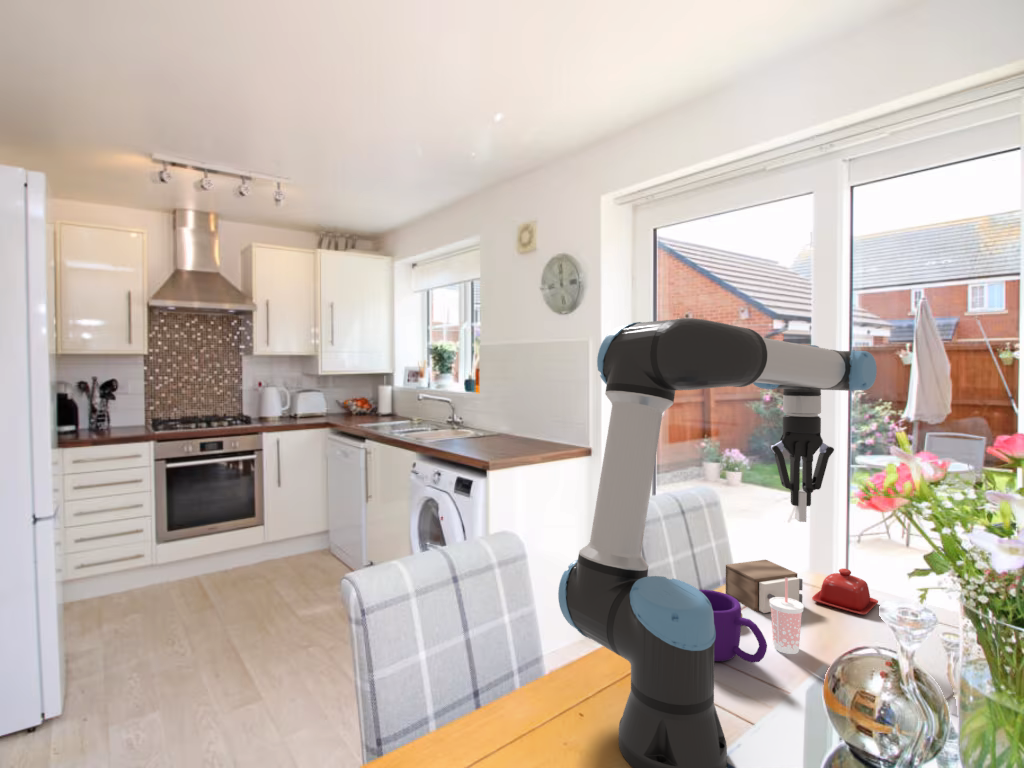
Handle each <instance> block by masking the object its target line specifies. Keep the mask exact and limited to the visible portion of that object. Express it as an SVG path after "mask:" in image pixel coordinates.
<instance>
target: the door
mask: <svg viewBox="0 0 1024 768" xmlns="http://www.w3.org/2000/svg"><path fill="white" fill-rule="evenodd" d="M800 591H803V579H802V578H800V577H797V578H796V577H788V598H791V599H794V600H797V601H799V602H801V603H802V604H803V594H801V593H800ZM773 597H785V578H782V579H775V580H769V581H763V582H759V611H758V612H761V613H763V614H766V613H767V614H768V613H771V606H770V603H769V600H770V599H771V598H773Z"/></svg>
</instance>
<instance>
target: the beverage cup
mask: <svg viewBox="0 0 1024 768" xmlns="http://www.w3.org/2000/svg"><path fill="white" fill-rule="evenodd" d="M769 603H770V606H771V612H770V615H771V633H772V646H773V648H774V650H776V651H778V652H780V653H784V654H788V655H795V654H798V653H799V652H800V643H801V642H800V641H801V640H800V639H801V627H802V626H801V625H802V615H803V613H804V604H803V602H802V603H801V602H799V601H797V600H794V599H791V598H788V578H787V577H785V597H773V598H771V599H770V600H769Z"/></svg>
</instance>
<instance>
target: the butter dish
mask: <svg viewBox="0 0 1024 768" xmlns="http://www.w3.org/2000/svg"><path fill="white" fill-rule="evenodd" d="M851 574H852V571H851V570H850V569H848V568H840V569H839V570H838V572H835V573H834V572H833V573H830V574H829V575H827V576H826V577H825V578H824V579H823V581H822V585H821V587H820V588H821V589H820V590H819V591H817V592H816V593H815V594H814V595H813V596H812V597H811V598H812V599H811V600H812V601H814V602H815V603H819V604H822V605H826V606H829V607H832V608H836V609H839V610H843V611H847V612H851V613H854V614H859V615H863V616H864V615H867V614H868V613H870V612H871V610H872V609H873V608H874V607H875V606H877V605H878V603H879V600H877V599H876V598H873V597H871V594H870V590H869V589H870V588H869V585H868V582H866V580H864V579H862V578H860V577H857V576H854V575H851Z"/></svg>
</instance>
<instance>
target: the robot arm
mask: <svg viewBox="0 0 1024 768" xmlns="http://www.w3.org/2000/svg"><path fill="white" fill-rule="evenodd" d="M596 358H597V359H596V363H597V365H596V367H597V371H598V372H600V375H599V376H600V378H601V380H602V382H604V384H605V385H606V387H605V393H604V394H605V396H606V398H608V400H609V401H610V403H611V411H610V415H609V416H610V417H609V423H608V427H607V428H608V429H607V434H606V435H607V436H606V441H605V447H604V453H603V459H602V466H601V473H600V476H599V477H600V478H599V484H598V490H597V496H596V501H595V509H594V515H593V521H592V526H591V527H592V528H591V534H590V539H589V542H588V544H586V545H585V546H584V547H582V548H581V549H579V551H578V555H577V556H578V557H577V559H576V560H574V561H572V562H571V563H570V564H569V565H568V567H567V568H568V569H567V570H564V572H563V573H562V575H561V578H560V581H559V585H558V593H557V594H558V595H557V596H558V606H559V609H560V611H561V614H562V616H563V618H564V619H565V620H566V622H567V623H568V624H569V626H571V627H573V628H574V629H575V630H577V631H578V633H580V634H581V636H583V637H585V638H588V639H590V640H593V641H594V642H596V643H598V644H599V645H601V646H603V647H604V648H606V649H608V650H609V651H611V652H612V653H614V654H616V655H618V656H620V657H622V658H623V659H624V660H626V661H628V662H629V663H630V692H629V694H628V697H627V700H626V703H625V706H624V709H623V712H622V713H623V714H622V716H621V718H620V720H619V726H618V747H619V750H620V753H621V755H622V756H623V758H624V760H626V762H627V763H628V764H629V765H630V766H631V767H632V768H727V763H728V744H727V740H726V737H725V734H724V731H723V727H722V725H721V721H720V719H719V714H718V712H717V709H716V705H715V661H714V645H715V637H716V631H715V625H714V614H713V609H712V605H711V603H710V601H709V600H708V598H707V597H706V596H705V595H704V594H703V593H702V592H701V591H700V590H701V589H698V588H697V587H696V586H693V585H691V584H689V583H688V582H685V581H684V580H683V581H682V580H680V579H677V578H667V577H666V576H659V575H657V576H656V575H649V576H648V573H649V565H648V563H647V562H646V560H645V558H644V557H643V555H642V549H643V548H642V547H643V543H644V536H645V529H646V523H647V522H646V521H647V515H648V511H649V509H648V508H649V504H650V497H651V491H652V485H653V477H654V470H655V465H656V457H657V452H658V444H659V440H660V439H659V438H660V432H661V425H662V420H663V419H662V418H663V414H664V412H665V411H666V410H668V409H669V408H670V407H672V406H673V405H674V402H675V396H676V391H694V390H704V389H713V388H726V387H733V388H734V387H735V388H743V387H744V388H745V387H748V386H751V385H754V386H755V387H756V388H759V389H764V390H782V391H783V392H782V394H783V395H782V397H783V398H782V412H783V413H784V414H785V415H783V416H782V434H781V437H780V441H778V442H776V443H775V444H770V445H769V449H770V451H771V452H772V453H773V455H774V458H775V463H776V466H777V471H778V475H779V479H780V480H779V481H780V483H781V485H782V486H783V487H784V488H786V489H788V490H790V503H791V505H792V506H794V519H795V520H796V521H797V522H800V523H801V522H802V523H804V522H805V523H807V507H811V505H812V493H813V492H814V491H816V490H819V491H820V490H821V488H822V483H823V480H824V476H825V473H826V470H827V466H828V463H829V459H830V457H831V456H832V454H833V453H834V451H835V448H834V447H832V446H830V445H828V444H826V443H824V440H823V438H822V435H821V433H822V420H821V419H822V418H821V416H819V415H820V414H821V413H822V390H824V391H825V390H826V391H850V392H854V391H867V390H869V389H870V388H872V387H873V385H874V384H875V382H876V380H877V379H876V378H877V374H878V373H877V361H876V359H875V357H874V355H873V354H872V353H871V352H869V351H866V350H853V349H852V350H836V349H829V348H823V347H820V346H818V345H817V344H816V345H813V344H812V345H811V344H809V345H808V344H801V343H796V342H788V341H783V340H779V339H774V338H773V339H772V338H766V337H763V336H762V335H761V334H760V333H759V332H758V331H756V330H754V329H752V328H747V327H742V326H737V325H734V324H733V325H732V324H729V323H723V322H720V321H719V322H718V321H713V320H708V319H702V318H691V317H689V318H687V317H681V318H674V319H665V320H654V321H642V322H641V321H636V322H632V323H629V324H626V325H625V324H623V325H620V326H618V327H616V328H614V329H613V330H612V331H610V332H609V333H608V334H607V335H606V336H605V338H604V339H603V340H602V342H601V343H600V346H599V349H598V353H597V357H596ZM784 449H785V450H786V451H787V452H788V454H789V460H790V463H789V465H790V467H789V472H788V468H787V464H786V461H785V456H784V453H783V452H784ZM818 450H819V451H818ZM817 451H818V452H819V454H818V457H817V461H816V464H815V468H814V471H813V462H814V454H815V453H817ZM801 460H802V466H801ZM800 467H802V469H801V468H800ZM801 470H802V480H801V481H800V477H801V475H800V473H801ZM801 482H802V484H801V485H802V486H801V485H800V483H801ZM800 486H801V487H802V489H800V488H801V487H800Z"/></svg>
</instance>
